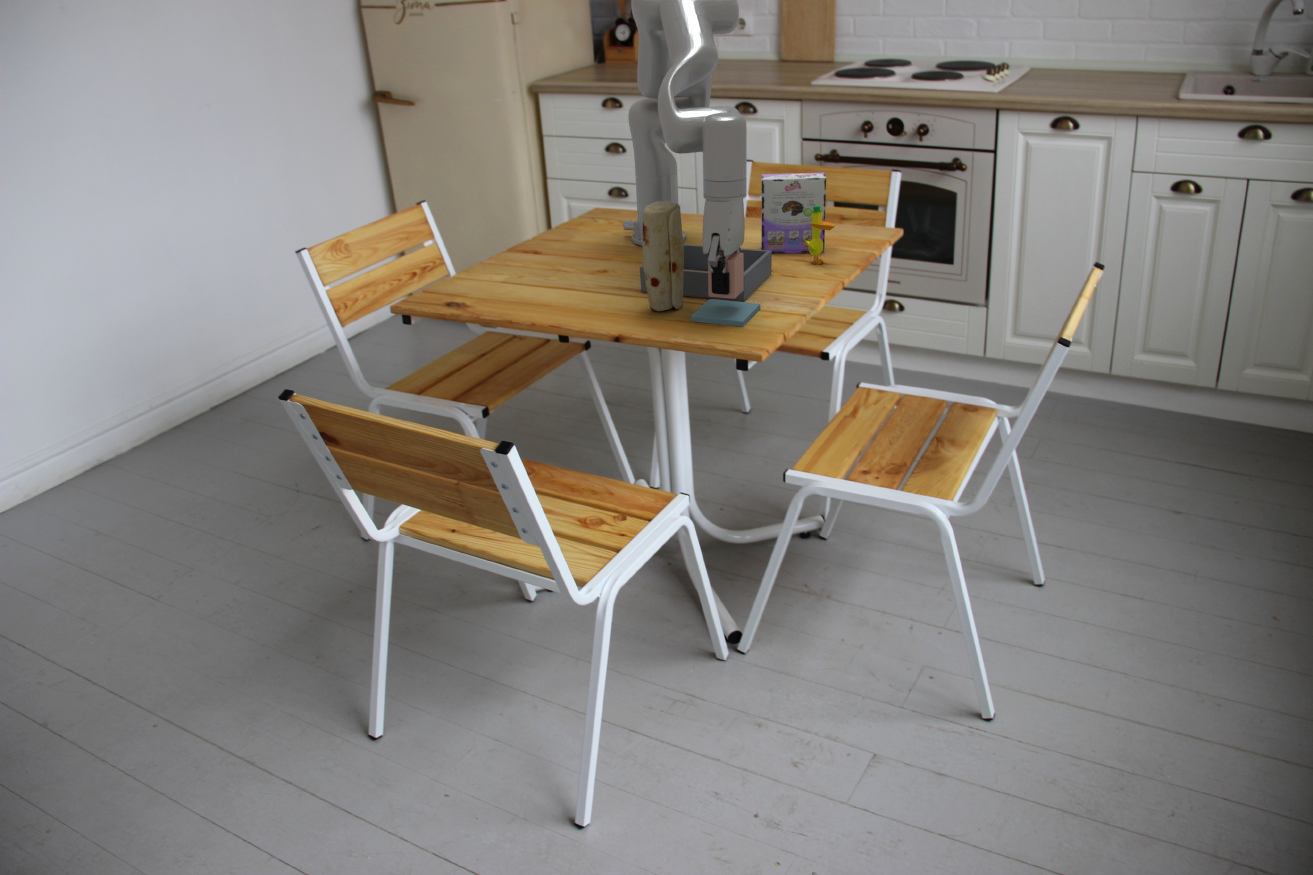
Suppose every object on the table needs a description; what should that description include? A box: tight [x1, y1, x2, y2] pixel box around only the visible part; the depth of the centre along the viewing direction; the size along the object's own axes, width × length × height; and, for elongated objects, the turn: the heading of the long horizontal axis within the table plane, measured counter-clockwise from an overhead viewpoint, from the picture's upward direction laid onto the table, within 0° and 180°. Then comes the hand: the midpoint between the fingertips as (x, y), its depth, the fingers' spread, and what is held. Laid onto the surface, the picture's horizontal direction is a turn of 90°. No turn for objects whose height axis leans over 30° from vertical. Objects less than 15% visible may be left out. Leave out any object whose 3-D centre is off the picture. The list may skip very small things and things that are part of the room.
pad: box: [690, 298, 761, 328], centre depth 179 cm, size 10×10×1 cm
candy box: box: [760, 172, 827, 254], centre depth 211 cm, size 14×6×16 cm, turn 84°
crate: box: [639, 243, 773, 302], centre depth 196 cm, size 22×18×5 cm
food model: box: [642, 201, 685, 312], centre depth 180 cm, size 10×7×20 cm
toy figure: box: [806, 206, 836, 265], centre depth 203 cm, size 7×4×12 cm, turn 49°
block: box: [707, 252, 744, 299], centre depth 176 cm, size 5×5×7 cm
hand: (725, 287), depth 177 cm, fingers closed on block, 4 cm apart
